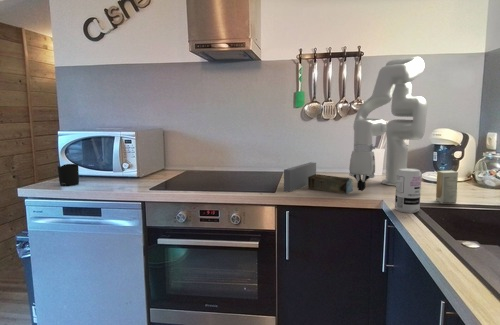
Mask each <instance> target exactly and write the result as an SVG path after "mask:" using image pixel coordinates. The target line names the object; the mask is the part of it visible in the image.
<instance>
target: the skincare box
mask: <svg viewBox="0 0 500 325" xmlns="http://www.w3.org/2000/svg"><path fill="white" fill-rule="evenodd" d="M458 178H459V172H458V171H456V170H437V172H436V190H435V191H436V192H435V193H436V194H435V201H436V200H437V202H439V203H441V204H443V203H442V202H449V203H457V197H458V196H457V195H458Z"/></svg>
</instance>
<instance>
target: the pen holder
mask: <svg viewBox="0 0 500 325" xmlns="http://www.w3.org/2000/svg"><path fill="white" fill-rule="evenodd" d="M56 168H57V173H58V181H59V185H60V186H61V187H73V186H76V185H79V183H80V177H79V176H80V172H79V164H78V163H67V164H63V165H61V166H59V165H57V167H56Z"/></svg>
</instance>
